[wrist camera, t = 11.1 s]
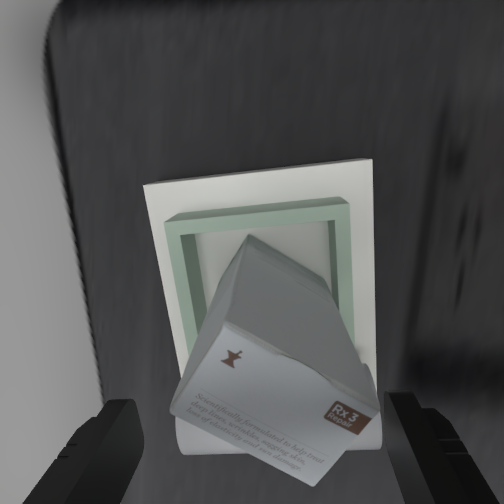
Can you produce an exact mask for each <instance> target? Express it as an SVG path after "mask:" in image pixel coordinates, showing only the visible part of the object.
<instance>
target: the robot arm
mask: <svg viewBox="0 0 504 504" xmlns="http://www.w3.org/2000/svg"><path fill="white" fill-rule="evenodd" d="M384 429H385V441H386V446H387V451H388V454H389V457H390V460H391V463H392V466H393V469H394V472H395V475H396V478H397V481H398V484H399V487H400V490H401V493H402V496H403V499H404V501H405V504H500V503H499V502H498V500H497V499H496V497H495V495H494V494H493V492H492V490H491V489H490V487H489V485H488V484H487V482H486V480H485V479H484V477H483V475H482V474H481V472H480V470H479V469H478V467H477V466H476V464H475V462H474V461H473V459H472V457H471V456H470V455H469V454H468V451H467V449H466V447H465V446H464V444H463V442H462V441H460V437H459V436H458V434H457V433H456V431H455V429H454V428H453V426H452V424H451V423H450V421H449V420H447V419H446V418H445V417H444V416H443V415H442V414H440V413H439V412H438V411H437V410H436V409H434V408H421V406H420V404H419V402H418V400H417V399H416V397H415V395H414V393H413V392H412V391H411V390H398V391H385V393H384ZM143 449H144V435H143V431H142V427H141V423H140V419H139V414H138V410H137V406H136V403H135V401H134V400H133V399H116V400H109V401H108V402H107V403H106V404H105V405H104V407H103V408H102V410H101V411H100V412H99V414H98V415H97V417H92V418H90V419H89V420H88V421H87V422H85V423H84V424H83V425H82V426H81V427H79V428H78V429H77V430H76V432H75V433H74V434H73V436H72V437H71V438H70V440H69V441H68V443H67V444H66V447H64V448H63V449H62V451H61V452H60V453H59V455H58V457H57V459H55V460H54V461H53V463H52V464H51V466H50V467H49V468H48V470H47V471H46V472H45V474H44V475H43V476H42V478H41V479H40V480H39V482H38V484H37V485H36V486H35V487H34V489H33V490H32V491H31V493H30V494H29V495H28V497H27V498H26V499H25V501H24V502H23V504H120V502H121V500H122V498H123V496H124V494H125V492H126V489H127V487H128V485H129V483H130V481H131V479H132V476H133V474H134V472H135V470H136V468H137V466H138V463H139V461H140V459H141V457H142V454H143Z"/></svg>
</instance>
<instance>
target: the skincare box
mask: <svg viewBox="0 0 504 504" xmlns="http://www.w3.org/2000/svg"><path fill="white" fill-rule="evenodd" d="M379 411H380V404H379V402H378V400H377V398H376V395H375V393H374V390H373V388H372V386H371V384H370V382H369V379H368V377H367V375H366V372H365V370H364V368H363V365H362V363H361V361H360V359H359V356H358V354H357V352H356V350H355V347H354V345H353V343H352V341H351V338H350V336H349V334H348V331H347V329H346V327H345V325H344V322H343V320H342V318H341V315H340V313H339V311H338V308H337V306H336V304H335V301H334V299H333V297H332V295H331V292H330V290H329V288H328V285H327V283H326V281H325V279H324V278H322V277H321V276H319V275H317V274H316V273H314V272H312V271H310V270H309V269H307V268H305V267H304V266H302V265H300V264H299V263H297V262H295V261H294V260H292V259H290V258H289V257H287V256H285V255H284V254H282V253H280V252H278V251H277V250H275V249H273V248H272V247H270V246H268V245H267V244H265V243H263V242H262V241H260V240H258V239H257V238H255V237H253V236H251V235H247V236H246V238H245V239H244V241H243V243H242V244H241V246H240V248H239V249H238V251H237V252H236V254H235V256H234V257H233V259H232V261H231V262H230V264H229V265H228V267H227V269H226V270H225V272H224V274H223V276H222V277H221V279H220V281H219V283H218V286H217V289H216V292H215V294H214V296H213V299H212V302H211V304H210V307H209V309H208V312H207V314H206V316H205V319H204V322H203V324H202V327H201V329H200V332H199V334H198V337H197V339H196V342H195V344H194V347H193V349H192V352H191V354H190V357H189V359H188V362H187V364H186V367H185V370H184V373H183V376H182V378H181V380H180V383H179V385H178V387H177V389H176V392H175V394H174V397H173V400H172V403H171V406H170V413H171V414H172V415H174V416H176V417H178V418H180V419H182V420H184V421H186V422H188V423H190V424H192V425H194V426H196V427H198V428H200V429H202V430H204V431H206V432H208V433H210V434H212V435H214V436H216V437H218V438H219V439H221V440H223V441H225V442H227V443H229V444H231V445H233V446H235V447H237V448H239V449H241V450H243V451H245V452H247V453H249V454H251V455H253V456H255V457H257V458H259V459H260V460H262V461H264V462H266V463H268V464H270V465H272V466H274V467H276V468H278V469H280V470H282V471H284V472H286V473H288V474H289V475H291V476H293V477H295V478H297V479H299V480H301V481H303V482H305V483H307V484H308V485H310V486H315V485H316V484H317V483H318V481H319V480H320V479H321V478H322V477H323V476H324V475H325V474H326V473H327V471H328V470H329V469H330V468H331V467H332V466H333V465H334V464H335V462H336V461H337V460H338V459H339V458H340V456H341V455H342V454H343V453H344V452H345V450H346V449H347V448H348V447H349V446H350V445H351V444H352V443H353V441H354V440H355V439H356V438H357V436H358V435H359V434H360V433H361V432H362V430H363V429H364V428H365V427H366V426H367V425H368V423H369V422H370V421H371V420H372V419H373V418H374V417H375V416H376V415H377V414H378V413H379Z"/></svg>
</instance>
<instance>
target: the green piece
mask: <svg viewBox="0 0 504 504" xmlns="http://www.w3.org/2000/svg"><path fill="white" fill-rule="evenodd" d="M319 221H328V233H329V251H330V269H331V287H332V297H333V299H334V301H335V304H336V306H337V308H338V311H339V313H340V315H341V318H342V320H343V322H344V325H345V327H346V329H347V331H348V334H349V336H350V338H351V341H352V343H353V345H354V347H355V334H354V308H353V281H352V254H351V227H350V203H348V202H347V201H346V200H344V199H343V198H342V197H340V196H336V197H327V198H317V199H308V200H298V201H288V202H279V203H269V204H260V205H250V206H240V207H231V208H221V209H212V210H202V211H192V212H183V213H178V214H176V215H174V216H173V217H171V218H170V219H168V220H166V221H165V222H163V223H164V228H165V233H166V239H167V244H168V249H169V254H170V260H171V265H172V270H173V276H174V281H175V286H176V292H177V297H178V302H179V307H180V313H181V318H182V323H183V329H184V334H185V339H186V345H187V350H188V355H189V357H190V354H191V352H192V349H193V347H194V344H195V342H196V339H197V337H198V334H199V332H200V329H201V327H202V324H203V322H204V319H205V316H206V314H207V307H206V301H205V295H204V289H203V283H202V277H201V271H200V265H199V259H198V253H197V246H196V240H195V234H196V233H206V232H216V231H227V230H237V229H247V228H257V227H268V226H278V225H288V224H299V223H309V222H319Z"/></svg>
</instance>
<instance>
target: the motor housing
mask: <svg viewBox="0 0 504 504" xmlns="http://www.w3.org/2000/svg"><path fill="white" fill-rule="evenodd" d="M143 188H144V193H145V198H146V203H147V208H148V213H149V218H150V223H151V228H152V233H153V238H154V243H155V248H156V253H157V258H158V263H159V268H160V273H161V278H162V283H163V288H164V293H165V298H166V303H167V308H168V313H169V318H170V323H171V328H172V333H173V338H174V343H175V348H176V353H177V358H178V363H179V368H180V373H181V378H182V376H183V373H184V370H185V367H186V364H187V362H188V359H189V355H188V350H187V345H186V339H185V334H184V329H183V323H182V318H181V313H180V307H179V302H178V297H177V292H176V286H175V281H174V276H173V270H172V265H171V260H170V254H169V249H168V244H167V239H166V233H165V228H164V223H163V222H165V221H166V220H168V219H170V218H171V217H173V216H174V215H176V214H178V213H183V212H192V211H202V210H212V209H221V208H231V207H240V206H250V205H260V204H269V203H279V202H288V201H298V200H308V199H317V198H327V197H336V196H340V197H342V198H343V199H344V200H346V201H347V202H348V203H350V227H351V254H352V281H353V308H354V334H355V350H356V352H357V354H358V356H359V359H360V361H361V363H362V365H363V368H364V370H365V372H366V375H367V377H368V379H369V382H370V384H371V386H372V388H373V390H374V393H375V395H376V398H377V400H378V397H377V383H376V330H375V276H374V222H373V169H372V159H365V158H357V159H349V160H340V161H331V162H322V163H314V164H305V165H296V166H288V167H279V168H270V169H261V170H253V171H244V172H235V173H227V174H218V175H209V176H200V177H192V178H183V179H174V180H166V181H158V182H154V183H150V184H147V185H143ZM247 235H251V236H253V237H255V238H257V239H258V240H260V241H262V242H263V243H265V244H267V245H268V246H270V247H272V248H273V249H275V250H277V251H278V252H280V253H282V254H284V255H285V256H287V257H289V258H290V259H292V260H294V261H295V262H297V263H299V264H300V265H302V266H304V267H305V268H307V269H309V270H310V271H312V272H314V273H316V274H317V275H319V276H321V277H322V278H324V279H325V281H326V283H327V285H328V288H329V290H330V292H331V295H332V287H331V269H330V251H329V233H328V221H319V222H309V223H299V224H288V225H278V226H268V227H257V228H247V229H237V230H227V231H216V232H206V233H196V234H195V240H196V246H197V253H198V259H199V265H200V271H201V277H202V283H203V289H204V295H205V301H206V307H207V312H208V309H209V307H210V304H211V302H212V299H213V296H214V294H215V292H216V289H217V286H218V283H219V281H220V279H221V277H222V276H223V274H224V272H225V270H226V269H227V267H228V265H229V264H230V262H231V261H232V259H233V257H234V256H235V254H236V252H237V251H238V249H239V248H240V246H241V244H242V243H243V241H244V239H245V238H246V236H247ZM176 435H177V441H178V445H179V448H180V451H181V452H182V454H184V455H200V454H234V453H247V452H245V451H243V450H241V449H239V448H237V447H235V446H233V445H231V444H229V443H227V442H225V441H223V440H221V439H219V438H218V437H216V436H214V435H212V434H210V433H208V432H206V431H204V430H202V429H200V428H198V427H196V426H194V425H192V424H190V423H188V422H186V421H184V420H182V419H180V418H178V417H176ZM381 445H382V424H381V415H380V411H379V413H378V414H377V415H376V416H375V417H374V418H373V419H372V420H371V421H370V422H369V423H368V425H367V426H366V427H365V428H364V429H363V430H362V432H361V433H360V434H359V435H358V436H357V438H356V439H355V440H354V441H353V443H352V444H351V445H350V446H349V447H348V448H347V449H346V450H372V449H380V448H381Z"/></svg>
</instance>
